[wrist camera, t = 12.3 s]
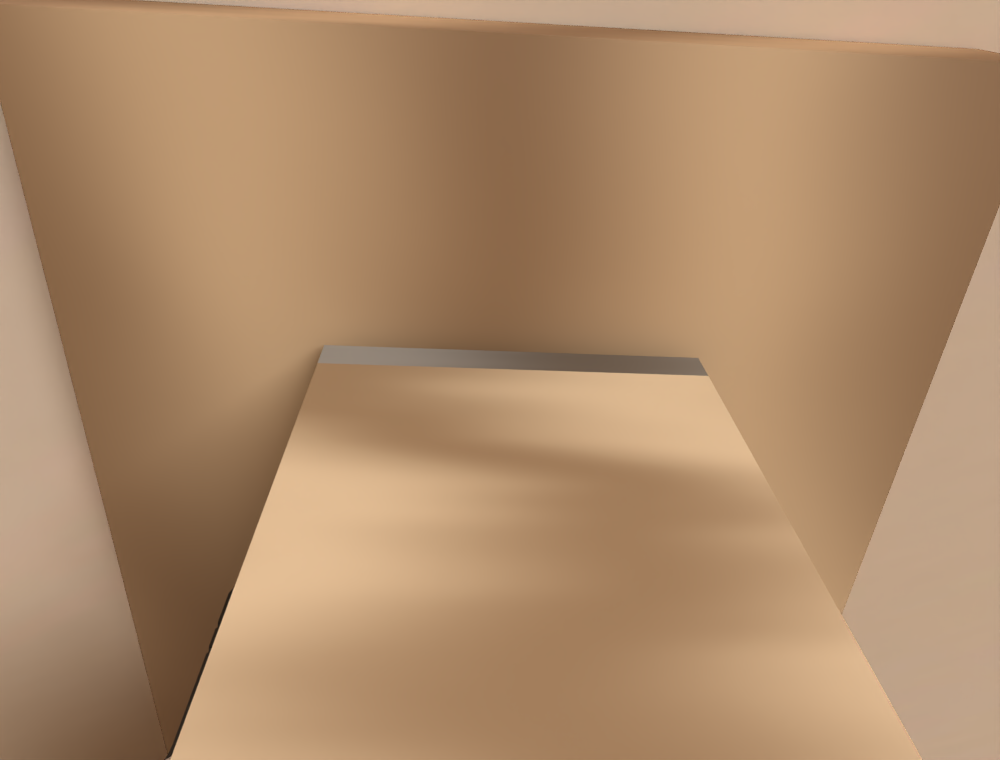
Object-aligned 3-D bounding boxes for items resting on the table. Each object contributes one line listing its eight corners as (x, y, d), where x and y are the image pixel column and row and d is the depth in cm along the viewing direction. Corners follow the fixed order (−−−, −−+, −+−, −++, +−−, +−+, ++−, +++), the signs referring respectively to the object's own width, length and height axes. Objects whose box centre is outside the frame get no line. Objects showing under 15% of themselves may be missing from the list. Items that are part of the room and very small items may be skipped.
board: (257, 990, 22) (244, 1058, 21) (43, -5, 9) (-29, 3, 8) (663, 984, 23) (675, 1049, 22) (978, 48, 10) (1057, 64, 9)
